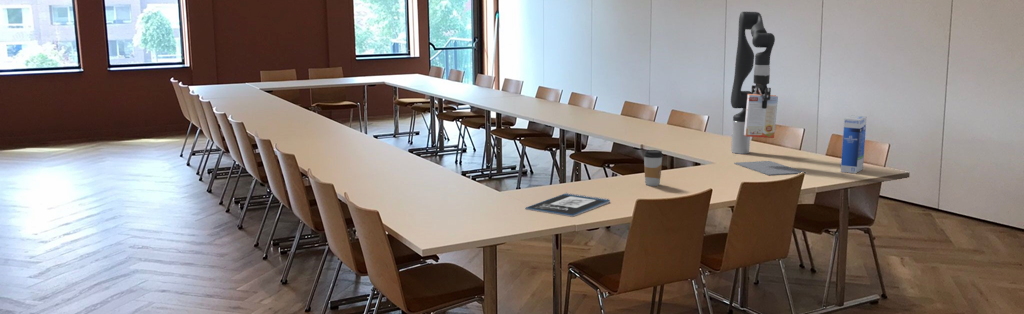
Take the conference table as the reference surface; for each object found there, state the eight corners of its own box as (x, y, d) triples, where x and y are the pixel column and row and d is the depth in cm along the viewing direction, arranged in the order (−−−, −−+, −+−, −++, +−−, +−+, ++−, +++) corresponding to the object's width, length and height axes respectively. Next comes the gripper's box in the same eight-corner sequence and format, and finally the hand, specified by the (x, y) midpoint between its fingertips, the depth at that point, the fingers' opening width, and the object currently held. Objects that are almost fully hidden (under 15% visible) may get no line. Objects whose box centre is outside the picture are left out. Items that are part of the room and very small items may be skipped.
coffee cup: (657, 187, 379) (658, 153, 377) (639, 185, 384) (640, 151, 381) (664, 184, 386) (665, 150, 384) (647, 182, 390) (648, 149, 388)
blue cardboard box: (847, 167, 424) (851, 115, 420) (863, 169, 420) (867, 116, 415) (840, 172, 414) (843, 118, 409) (856, 173, 409) (860, 119, 405)
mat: (734, 163, 436) (734, 162, 436) (769, 161, 441) (769, 160, 441) (768, 175, 405) (768, 174, 405) (806, 173, 410) (806, 172, 410)
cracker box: (771, 136, 434) (776, 94, 430) (774, 138, 428) (778, 96, 424) (743, 134, 435) (747, 93, 431) (745, 136, 429) (749, 94, 425)
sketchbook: (525, 211, 339) (525, 205, 339) (565, 197, 363) (565, 192, 363) (572, 218, 327) (572, 212, 326) (611, 203, 351) (611, 198, 351)
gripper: (747, 73, 432) (745, 106, 434) (762, 75, 418) (761, 109, 421) (760, 72, 434) (759, 105, 436) (776, 75, 420) (774, 109, 423)
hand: (760, 107), depth 429 cm, fingers closed on cracker box, 7 cm apart
